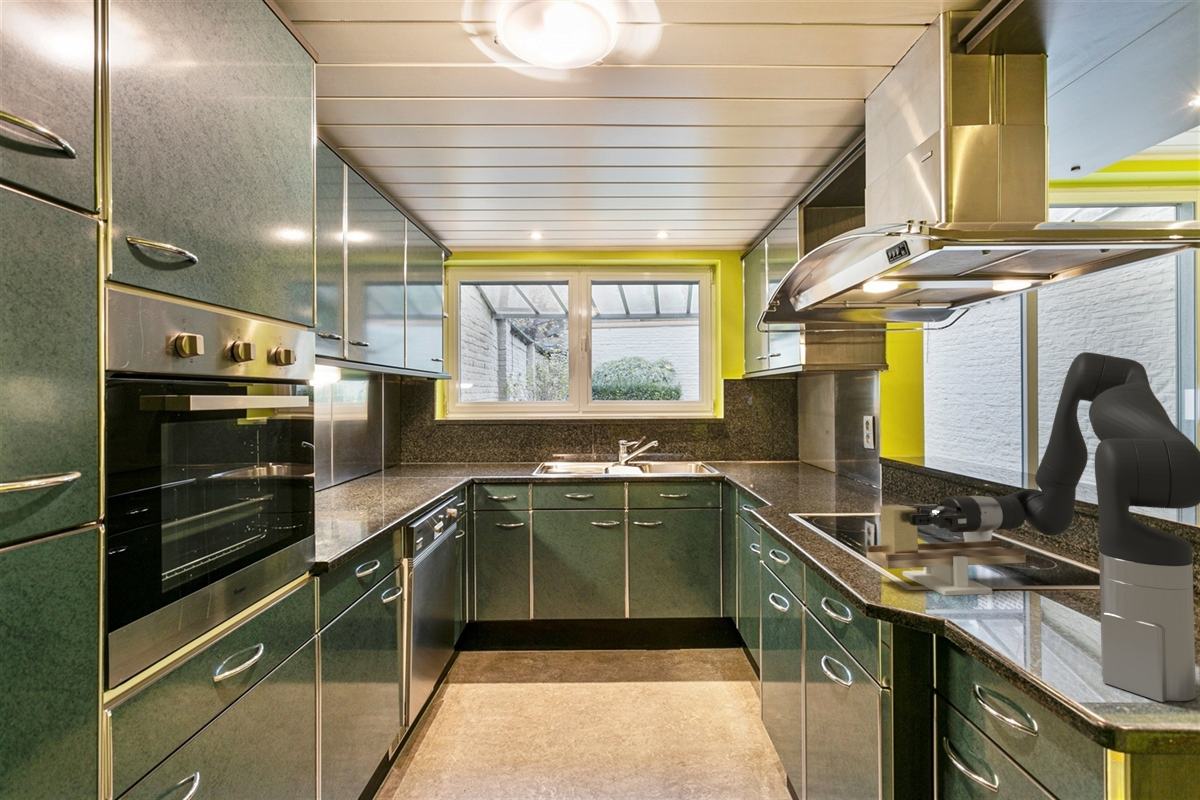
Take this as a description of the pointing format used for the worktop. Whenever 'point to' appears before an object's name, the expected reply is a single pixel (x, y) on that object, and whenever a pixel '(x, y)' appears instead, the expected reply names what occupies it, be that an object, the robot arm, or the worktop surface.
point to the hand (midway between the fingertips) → (898, 516)
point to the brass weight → (898, 530)
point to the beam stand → (948, 579)
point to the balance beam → (948, 554)
